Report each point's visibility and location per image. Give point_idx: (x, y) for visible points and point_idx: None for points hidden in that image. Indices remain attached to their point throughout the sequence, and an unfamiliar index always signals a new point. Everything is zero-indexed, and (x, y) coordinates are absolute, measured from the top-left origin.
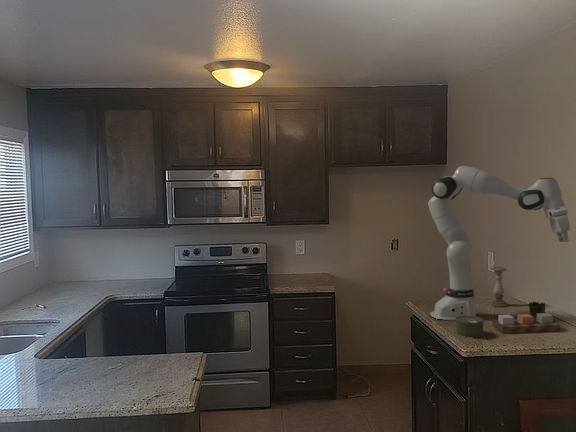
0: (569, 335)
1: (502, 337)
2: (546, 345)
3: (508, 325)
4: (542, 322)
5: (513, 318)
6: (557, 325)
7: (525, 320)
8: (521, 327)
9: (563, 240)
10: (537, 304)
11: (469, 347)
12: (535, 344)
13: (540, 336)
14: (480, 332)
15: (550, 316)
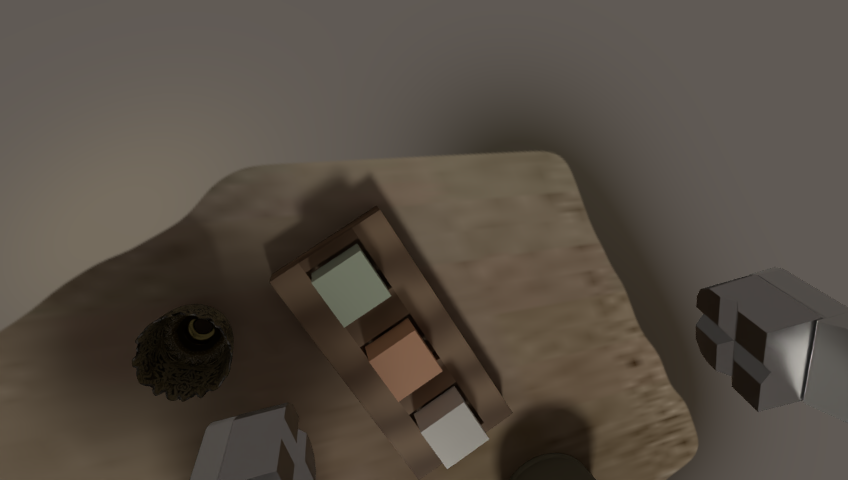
0: (426, 164)
1: (549, 389)
2: (591, 233)
3: (479, 401)
4: (385, 285)
5: (462, 401)
6: (386, 219)
7: (431, 353)
8: (472, 351)
9: (288, 417)
10: (142, 357)
11: (689, 448)
12: (592, 270)
13: (485, 269)
14: (577, 465)
15: (366, 259)
